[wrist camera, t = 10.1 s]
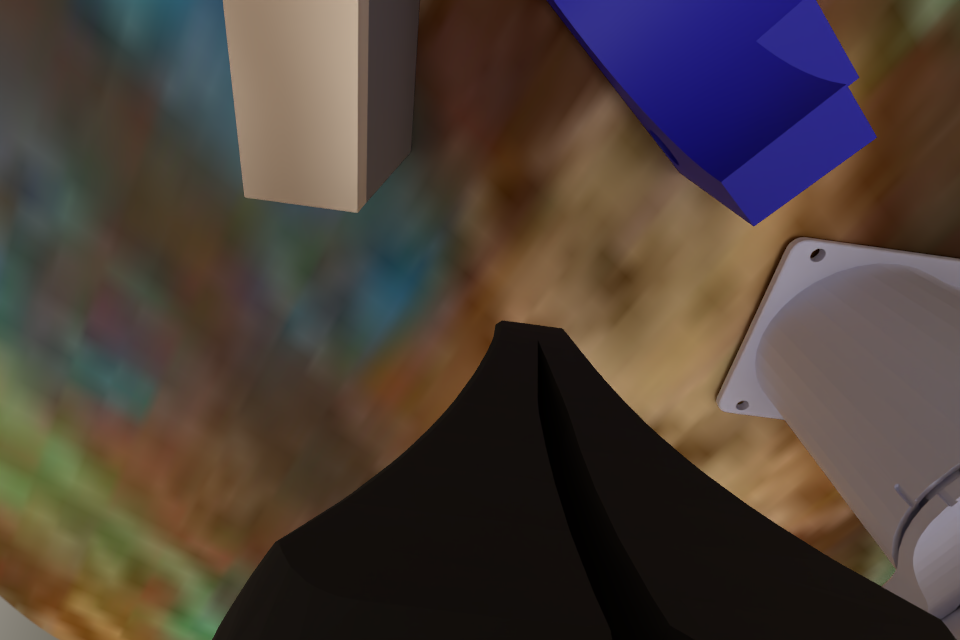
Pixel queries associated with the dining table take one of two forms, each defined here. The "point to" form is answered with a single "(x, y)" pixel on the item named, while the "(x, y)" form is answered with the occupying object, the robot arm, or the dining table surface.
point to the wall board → (322, 96)
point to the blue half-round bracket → (730, 90)
